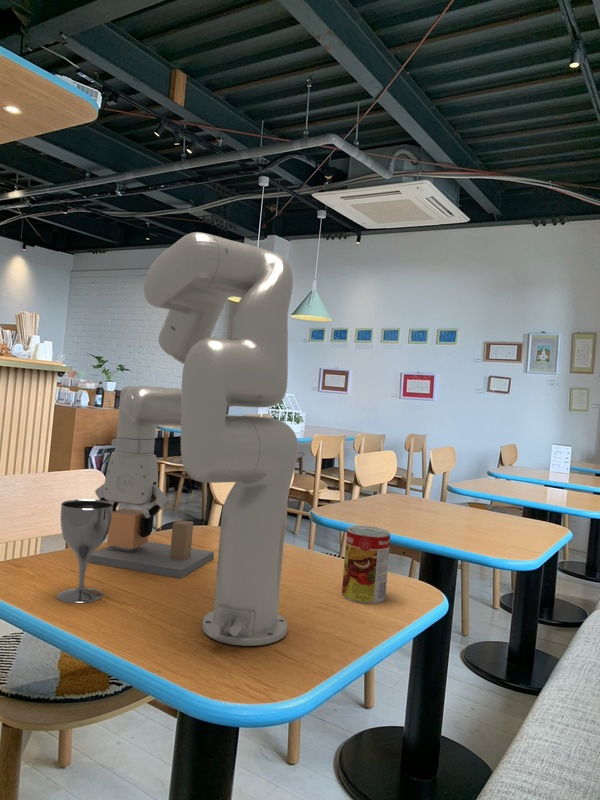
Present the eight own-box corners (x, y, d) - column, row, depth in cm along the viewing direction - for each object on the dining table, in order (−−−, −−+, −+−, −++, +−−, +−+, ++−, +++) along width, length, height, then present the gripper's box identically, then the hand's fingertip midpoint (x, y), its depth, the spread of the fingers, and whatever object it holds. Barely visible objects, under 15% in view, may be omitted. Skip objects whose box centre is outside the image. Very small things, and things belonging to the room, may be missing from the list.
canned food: (349, 586, 112) (354, 523, 112) (389, 594, 109) (394, 530, 109) (335, 598, 104) (341, 530, 104) (378, 607, 101) (384, 538, 101)
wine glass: (45, 602, 92) (53, 506, 92) (64, 586, 99) (71, 497, 99) (97, 605, 92) (104, 510, 92) (111, 589, 100) (118, 501, 100)
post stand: (180, 578, 108) (184, 532, 108) (87, 562, 114) (90, 518, 114) (213, 558, 123) (216, 518, 123) (129, 545, 128) (132, 506, 128)
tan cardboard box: (132, 549, 116) (135, 515, 116) (107, 544, 118) (109, 512, 118) (147, 542, 122) (150, 511, 122) (123, 539, 123) (125, 507, 123)
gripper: (87, 443, 119) (80, 531, 119) (164, 452, 114) (157, 543, 114) (108, 442, 126) (102, 524, 126) (182, 450, 121) (175, 535, 121)
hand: (128, 532), depth 120 cm, fingers open, 7 cm apart
